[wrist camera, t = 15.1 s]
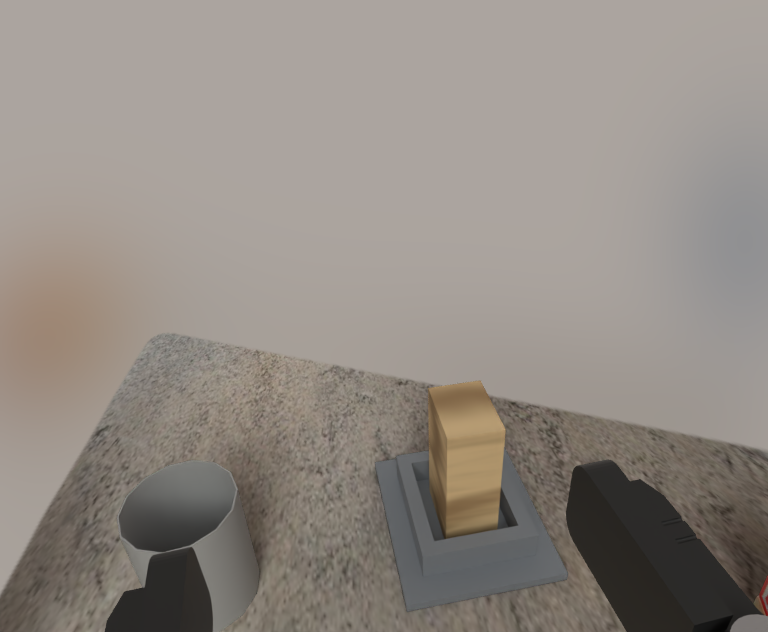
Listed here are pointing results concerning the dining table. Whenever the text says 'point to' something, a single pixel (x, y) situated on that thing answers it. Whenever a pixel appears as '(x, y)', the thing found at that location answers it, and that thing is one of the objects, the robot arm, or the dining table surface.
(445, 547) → the grey socket base
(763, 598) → the stack of blocks
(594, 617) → the dining table surface
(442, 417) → the wooden block
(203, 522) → the cup
